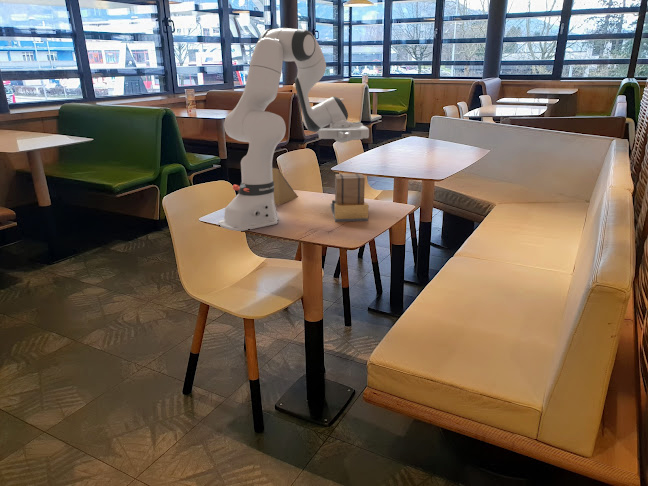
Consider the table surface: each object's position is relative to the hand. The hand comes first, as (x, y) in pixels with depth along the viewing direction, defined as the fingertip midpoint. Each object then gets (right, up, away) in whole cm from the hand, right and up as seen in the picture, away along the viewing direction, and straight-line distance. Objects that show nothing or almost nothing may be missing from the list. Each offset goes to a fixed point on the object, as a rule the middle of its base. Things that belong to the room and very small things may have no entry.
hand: (345, 135), depth 190 cm
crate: (+1, -28, -6) cm, 29 cm away
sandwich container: (-27, -23, +20) cm, 41 cm away
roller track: (+1, -30, -1) cm, 30 cm away
